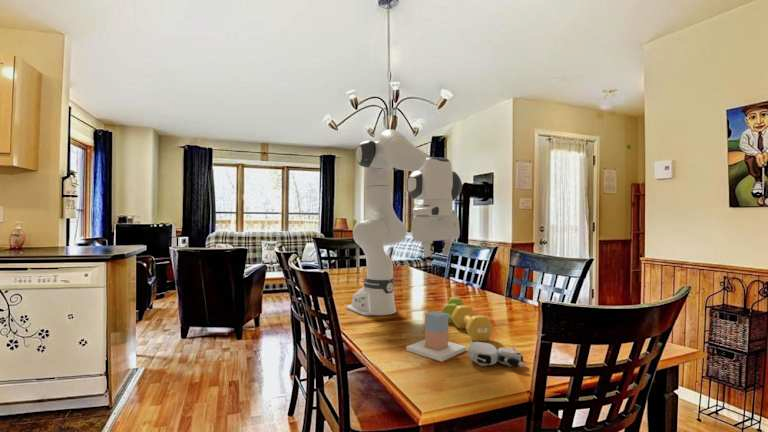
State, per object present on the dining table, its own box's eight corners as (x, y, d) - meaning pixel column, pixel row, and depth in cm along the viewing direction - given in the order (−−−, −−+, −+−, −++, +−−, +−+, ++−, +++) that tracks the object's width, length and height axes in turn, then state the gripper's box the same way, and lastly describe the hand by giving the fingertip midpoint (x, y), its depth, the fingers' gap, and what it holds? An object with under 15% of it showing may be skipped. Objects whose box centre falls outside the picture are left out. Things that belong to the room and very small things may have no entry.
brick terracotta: (424, 346, 120) (425, 329, 120) (434, 342, 123) (434, 326, 123) (438, 350, 116) (438, 333, 116) (447, 346, 120) (448, 329, 120)
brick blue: (425, 329, 120) (425, 313, 120) (434, 326, 123) (434, 310, 123) (438, 333, 116) (438, 316, 116) (448, 329, 120) (448, 313, 120)
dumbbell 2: (494, 342, 129) (495, 317, 129) (468, 343, 127) (468, 318, 127) (473, 325, 147) (473, 304, 147) (450, 326, 146) (450, 304, 146)
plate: (406, 350, 120) (406, 346, 120) (431, 340, 129) (431, 336, 129) (441, 361, 111) (441, 357, 111) (466, 350, 120) (466, 346, 120)
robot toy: (519, 360, 115) (466, 352, 118) (520, 345, 115) (468, 337, 118) (525, 377, 103) (467, 368, 106) (527, 360, 103) (468, 352, 106)
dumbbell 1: (446, 313, 166) (446, 296, 166) (465, 314, 163) (465, 297, 163) (440, 323, 150) (440, 304, 150) (461, 325, 148) (461, 306, 148)
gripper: (448, 210, 129) (447, 252, 129) (408, 209, 114) (408, 256, 115) (464, 210, 125) (464, 253, 125) (426, 209, 110) (425, 258, 110)
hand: (437, 255), depth 120 cm, fingers open, 8 cm apart
